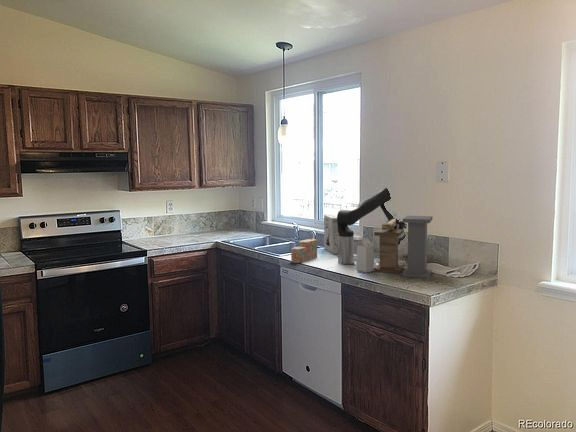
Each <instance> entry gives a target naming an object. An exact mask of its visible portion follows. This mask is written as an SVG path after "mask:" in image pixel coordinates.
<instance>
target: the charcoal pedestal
mask: <svg viewBox="0 0 576 432" xmlns="http://www.w3.org/2000/svg"><path fill="white" fill-rule="evenodd" d="M402 222H404V223H405V224H407V234H408V243H407V267H406V268H405V269H404V270H403V272H402V274H401V275H402V277H407V278H417V279H418V278H420V279H430V276H431V275H432V273H433V271H432V268H431V269H430V268H427V261H428V260H427V259H428V257H427V256H428V224H430V223H431V222H433V215H406V216H404V217H403V218H402Z"/></svg>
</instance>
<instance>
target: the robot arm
mask: <svg viewBox="0 0 576 432" xmlns="http://www.w3.org/2000/svg"><path fill="white" fill-rule="evenodd" d="M387 188H388V187H383V188H382V189H381V190H379V191H377V192H376V193H375V194H374V195H371V196H370V197H367V198H365V199H363V200H361V201H360V202H359V203H358V205H357V208H355V209H351V210H349V209H341V210H339V211H338V213H337V214H336V215H337V228H338V233H339V247H338V254H337V263H339V264H340V265H351V264H354V263H355V251H354V249H355V248H354V247H355V246H354V243H355V238H354V235H355V234H354V233H355V232H354V230H352V229H351V228H349V226H354V225H355V224H356V223H357V222H358V221H360V220H361V219H362V218H364V217H365V216H367V215H368V214H371V213H372V212H374V211H375V210H377V209H378V208H379V207H380V209H381V210H382V212H383V214H384V216H385V218H387V221H386V223H388V222H389V221H390V220H392V219H394V218H393V216H392V215H391V214H390V213H389V212H388V211H387V210H386V208H385V206H384V203H385V202H387V201H389V200H390V199H391V197H390V193H389V191H388V189H387ZM390 201H391V200H390ZM390 201H389V202H390ZM387 203H388V202H387ZM399 220H400V219H399ZM399 220H397V219H396V224H397V225H396V226H394V229H403V234H401V235H400V236H399V237H398V245H399V244H400V241H401V240H403V239H404V238H405V236H406V235H405V232H404V230H405V229H408V223H404V222H403V220H402V221H401V220H400V222H399Z"/></svg>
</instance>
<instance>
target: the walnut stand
mask: <svg viewBox="0 0 576 432" xmlns="http://www.w3.org/2000/svg"><path fill="white" fill-rule="evenodd" d="M373 233H374V234H373V235H374V237H376V236H377V237H379V264H378V265H376V267H374V271H373V272H378V273H390V274H400V272H401V271H402V270H403V269H404V264H399V246H398V237H399V236H400V235H401V234H403V229H393V230H382V228H378V229H376V230H375V231H374V232H373ZM402 268H403V269H402Z"/></svg>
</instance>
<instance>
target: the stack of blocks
mask: <svg viewBox="0 0 576 432" xmlns="http://www.w3.org/2000/svg"><path fill="white" fill-rule="evenodd" d="M290 250H291V252H290V254H291V255H290V260H291V263H295V264H301V263H304V262H308V261H310V260H313V259H317V258H318V240H317V239H315V238H308V239H303V240H300V241H298V246H296V247H292V248H291V249H290Z"/></svg>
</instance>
